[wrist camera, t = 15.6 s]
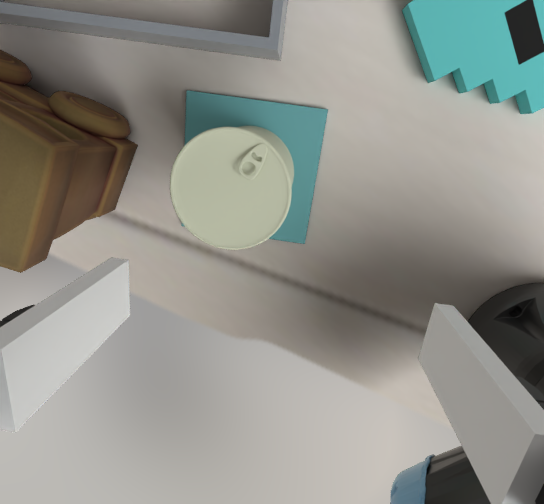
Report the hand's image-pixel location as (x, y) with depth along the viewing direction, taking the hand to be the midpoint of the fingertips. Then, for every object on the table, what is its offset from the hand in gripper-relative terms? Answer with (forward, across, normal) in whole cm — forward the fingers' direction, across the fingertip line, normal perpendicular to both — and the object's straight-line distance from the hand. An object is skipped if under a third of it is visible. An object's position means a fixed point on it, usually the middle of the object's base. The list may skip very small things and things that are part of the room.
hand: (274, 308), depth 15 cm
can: (+24, +5, -3) cm, 24 cm away
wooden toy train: (+24, +26, -4) cm, 35 cm away
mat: (+24, +5, -3) cm, 24 cm away
